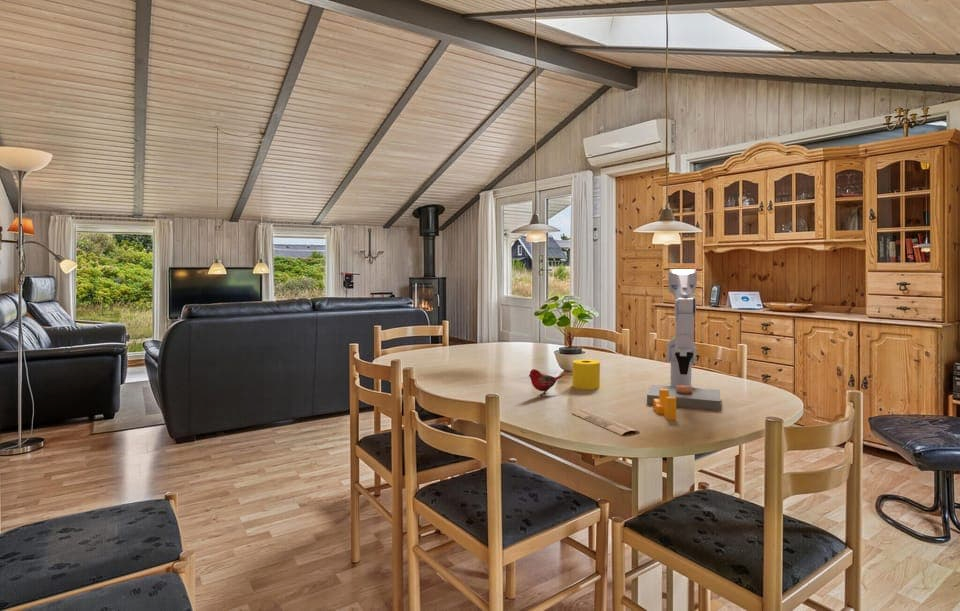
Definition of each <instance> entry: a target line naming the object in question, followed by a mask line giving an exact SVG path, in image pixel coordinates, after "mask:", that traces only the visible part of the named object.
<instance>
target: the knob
mask: <svg viewBox="0 0 960 611" xmlns="http://www.w3.org/2000/svg"><path fill="white" fill-rule="evenodd" d="M692 388H693V387H692V386H689V385H677V386H676V392H678V393H681V394H689V393H692Z"/></svg>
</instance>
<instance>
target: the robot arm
mask: <svg viewBox="0 0 960 611" xmlns="http://www.w3.org/2000/svg"><path fill="white" fill-rule="evenodd" d="M667 278H668V280H667V282H668V292H669V293H670V294H673V297H674V316H675V317H674V319H675V336H674V337H672V338H671V339H670V340H669V341H668V342H667V347H666V348H667V349H666V351H667V352H666V354H667V355H666V356H667V358H666V360H667V363H670V383H669V385H668V386H675V387H676V386H677V385H689V386H692V388H694V387H693V383H692V370H693V369H692V368H693V367H692V366H693V364H695V363H697V362H696V359H697V350H698V346H696V343H695V341H694V340H695V339H694V337H695V334H694V333H695V316H696V313H697V301H696V297H694V293H695V292H696V291H695V290H696V289H697V283H698V272H697V270H696V268H693V269H691V268H690V269H688V268H687V269H683V268H682V269H677V268H676V269H672V268H671V269H669V270H668V276H667Z"/></svg>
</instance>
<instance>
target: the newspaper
mask: <svg viewBox="0 0 960 611" xmlns="http://www.w3.org/2000/svg"><path fill="white" fill-rule="evenodd" d="M572 413H573V414H575V415H578V416H580V417H582V418H584V419H586V420H585V421H587V420H588V421H587V422H589V421H590V422H589V423H591V422H593V423H592V424H594V423H595V424H594V425H596V424H597V425H596V426H598V425H599V427H600V426H601V428H603V427H604V428H603V429H605V428H606V430H607V429H608V430H607V431H610V432H612V433H614V432H615V433H614V434H616V433H617V435H619V436H621V437H622V436H623V435H624V434H625V433H628V432H631V431H632V432H634V433H636V434H638V433H639V434H640V430H637V429H635V428H633V427H630V426H627V425H625V424H622V423H620V422H617V421H615V420H612V419H611V418H608V417H605V416H602V415H601V414H598V413H595V412H592V411H590V410H588V409H582V408H581V409H577V410H574V411H572V412H571V414H572ZM573 414H572V415H573ZM575 415H574V416H575ZM578 416H577V417H578ZM580 417H579V418H580ZM582 418H581V419H582ZM584 419H583V420H584Z"/></svg>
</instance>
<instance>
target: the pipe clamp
mask: <svg viewBox="0 0 960 611" xmlns="http://www.w3.org/2000/svg"><path fill="white" fill-rule="evenodd" d="M652 405H653V406H652V408H653V410H654V412H656V414H658V415H663V416H664V417H665V418H666V419H667V420H677V407H676V397H669V390H668V389H659V399H653V404H652Z"/></svg>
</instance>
